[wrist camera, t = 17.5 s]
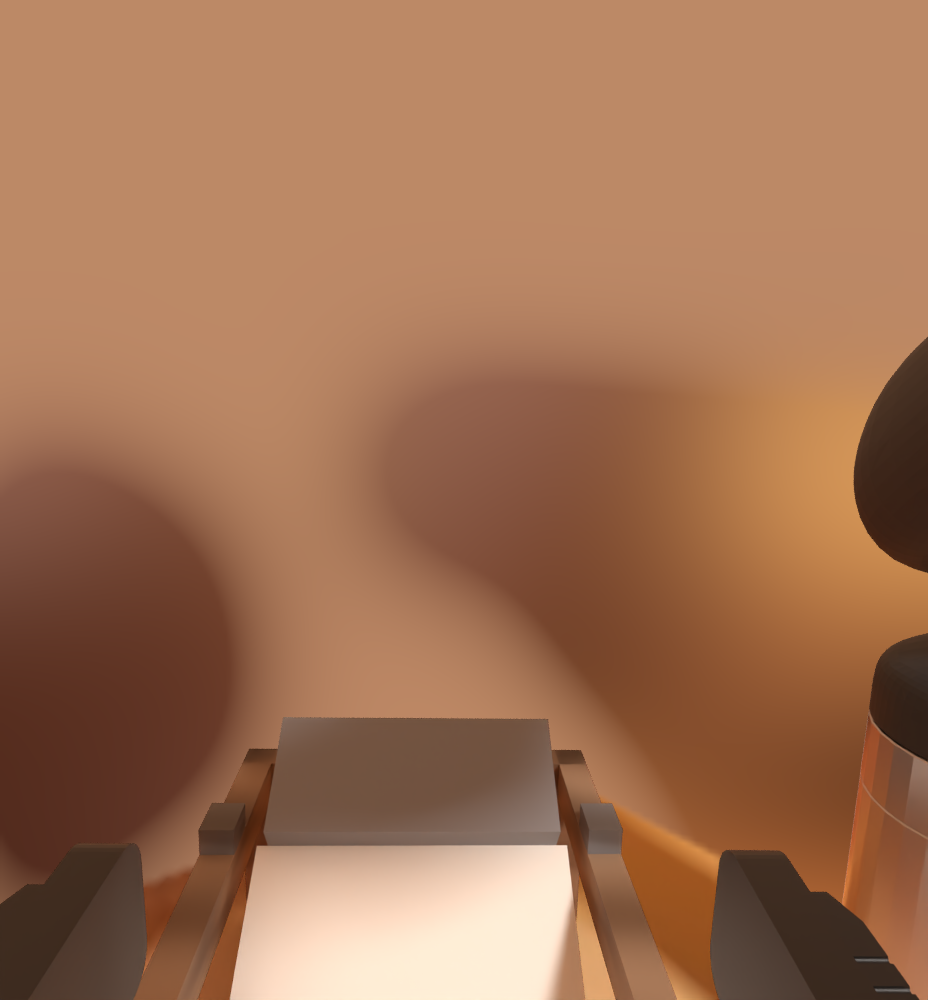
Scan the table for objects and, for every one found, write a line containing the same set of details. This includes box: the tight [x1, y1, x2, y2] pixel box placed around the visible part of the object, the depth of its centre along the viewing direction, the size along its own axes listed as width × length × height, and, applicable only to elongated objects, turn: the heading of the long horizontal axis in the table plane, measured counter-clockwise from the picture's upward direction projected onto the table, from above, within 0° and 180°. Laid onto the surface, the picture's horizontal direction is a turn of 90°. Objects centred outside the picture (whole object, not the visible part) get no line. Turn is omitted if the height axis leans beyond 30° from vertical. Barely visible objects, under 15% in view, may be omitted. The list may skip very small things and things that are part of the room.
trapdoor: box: [230, 717, 585, 1000], centre depth 31 cm, size 20×14×4 cm
